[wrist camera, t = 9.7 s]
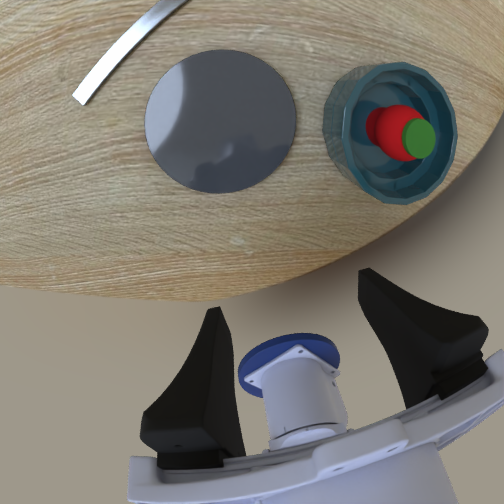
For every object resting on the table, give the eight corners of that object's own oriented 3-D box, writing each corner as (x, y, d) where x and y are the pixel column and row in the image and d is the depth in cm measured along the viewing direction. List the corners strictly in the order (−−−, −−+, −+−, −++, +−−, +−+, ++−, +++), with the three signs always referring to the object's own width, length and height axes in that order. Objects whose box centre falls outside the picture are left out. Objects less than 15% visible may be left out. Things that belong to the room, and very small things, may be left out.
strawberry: (410, 133, 19) (450, 147, 14) (378, 162, 20) (413, 181, 16) (386, 92, 17) (426, 96, 13) (350, 121, 18) (385, 130, 14)
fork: (87, 107, 16) (84, 107, 15) (72, 94, 15) (69, 94, 14) (274, -50, 11) (276, -53, 10) (257, -62, 10) (258, -65, 9)
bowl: (441, 142, 20) (471, 153, 16) (365, 209, 22) (389, 230, 19) (385, 44, 15) (416, 39, 12) (292, 114, 18) (309, 118, 14)
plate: (320, 126, 19) (325, 127, 18) (218, 215, 21) (219, 221, 20) (224, 25, 14) (224, 21, 13) (120, 126, 17) (115, 128, 16)
